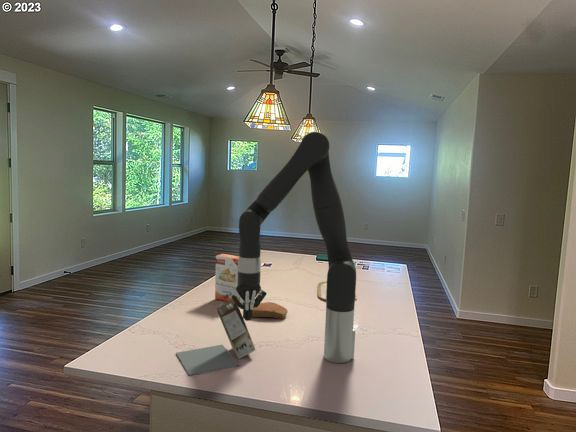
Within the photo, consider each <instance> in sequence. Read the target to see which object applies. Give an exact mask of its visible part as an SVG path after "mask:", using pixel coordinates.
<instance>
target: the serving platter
mask: <svg viewBox="0 0 576 432" xmlns="http://www.w3.org/2000/svg"><path fill="white" fill-rule="evenodd" d="M323 285H327V280H324V281H320V282H319V283H317V295H318V297H319V298H320V299H321V300H322V301H326V298H324V297H322V286H323ZM356 299H357V294H356V292H355V300H356Z"/></svg>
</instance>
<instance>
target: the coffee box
mask: <svg viewBox="0 0 576 432" xmlns="http://www.w3.org/2000/svg"><path fill="white" fill-rule="evenodd" d="M215 309H216V312H217V314H218V317H219V319H220V321H221V324H222V326H223V329H224V332H225V333H226V336H227V338H228V340H229V343H230V346H231V349H232V350H233V352H234V354H235V355H236V357H237V358H238V359H240V360H241V359H242V358H244V357H246V356H247V355H249V354H251V353H253V352H255V351H256V347H255V344H254V342H253V340H252V337H251V334H250V332H249V329H248V328H247V327H248V326H247V324H246V322H245V319H244V318H243V313H242V312H241V309H240V308H239V307H238V306H237V305H236V303H234V302H233V300H232V301H229V302H227V301H226V302H225V303H223V304H221V305H220V306H217V308H215Z"/></svg>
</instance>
